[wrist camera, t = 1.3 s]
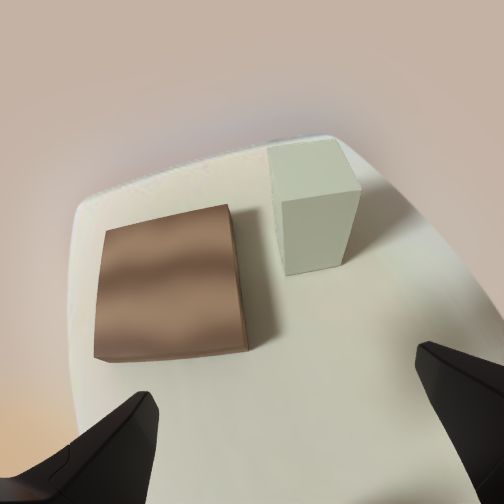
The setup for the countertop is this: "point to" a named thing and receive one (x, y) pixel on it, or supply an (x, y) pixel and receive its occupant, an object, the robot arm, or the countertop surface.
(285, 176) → the sage block
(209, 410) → the countertop surface
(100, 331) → the walnut stand
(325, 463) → the countertop surface
